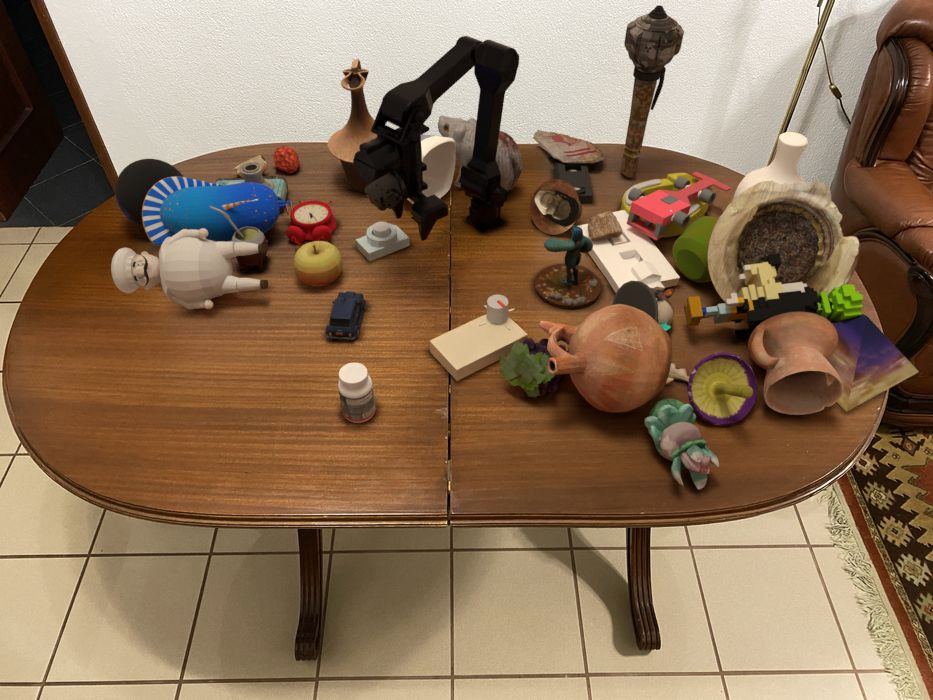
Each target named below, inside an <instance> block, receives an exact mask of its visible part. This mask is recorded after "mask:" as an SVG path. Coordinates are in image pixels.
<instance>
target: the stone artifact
mask: <svg viewBox="0 0 933 700" xmlns="http://www.w3.org/2000/svg"><path fill="white" fill-rule="evenodd" d="M532 139H533V140H534V141H535V142H536V143H537V144H538V146H539V148H541V149H543V150H544V151H546V153H548V154H549V155H550V156H551V157H552V158H553V159H555V160H558V161H559V162H560V163H562V164H563V163H576V164H595V163H599V162H601V161H605V160H606V157H605V155H604V153H603V151H601V150H600V149H599V148H598V147H597V146H596V145H595V144H594V143H593V142H591V141H588V140H585V139H581V138H577V137H574V136H570V135H568V134H564V133H557V132H555V131H554V132H553V131H545V130H541V129H537V130H536V131H535V132H534V134H533V137H532Z"/></svg>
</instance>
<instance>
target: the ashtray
mask: <svg viewBox="0 0 933 700" xmlns="http://www.w3.org/2000/svg"><path fill="white" fill-rule="evenodd" d="M679 176H681V177H683V178H685V179H687V180H690V185H692V184H694V183H697V182H699V181H700V179H698V178H696V177H694V176H692V175H691V174H689V173H687V172H673V173H668V174H667V176H666V178H661V179H659V178H654V179H650V180H646V181H642V182H639V183H636V184H633V185H632V186H631V187H629V188H628V189H627V190H626V191H625V192H624V194H623V195H622V200H621V205H620V209H619V211H621V210H625V211H626V213H627V214H628V215H629V212H630V209H631V205H632V202H633V201H631V200H629V199H628V195H629V192H630V191H631V190H632V189H633V188H637V189H639V190H641V191H643V192H644V193H645V196H647V195H649V194H651V193H653V192H655V191H658V190H669V191H679V190H678V189H676V188H674V183H675V180H676V179H677V178H678V177H679ZM709 190H710V191H712V192H714V189H713V188H712V187H710V188H709ZM690 205H691V207H690V210H689V213H688V215H690V221H689V223H688V224H687V225H686V226H685V227H684V228H682V227H680V226H679V225H677V224H675V223H673V222H671V223H669V224H668V227H667V230H666V234H665V235H663V236H662V237H661V238H671V237H676V236H681V235H682V234H683V233H684V231H685V230H686V229H687V227H688V226H689V225H690V224H691V223H692V222H694V221H695V220H697V219H698V218H700V217H702V216H705V214H706V212H707V211H708V209H709V207H710V205H708V204H706V203H705V202H703V201H701V200H699V199H697V200H695V201H692V202H690ZM640 220H642V221H644V222H645V219H643V218H642V217H640ZM651 226H653V227H655V228H656V225H655V224H652V225H651Z"/></svg>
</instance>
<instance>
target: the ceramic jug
mask: <svg viewBox="0 0 933 700" xmlns="http://www.w3.org/2000/svg"><path fill="white" fill-rule="evenodd" d="M837 345H838V333H837V331H836V329H835V327H834V326H833V324H832V323H831V322H830V321H829V320H827V319H826V318H824V317H822V316H820V315H817V314H814V313H810V312H788V313H783V314H779V315H776V316H773V317H771V318H769V319H767V320H765V321H763V322H762V323H760V324H759V325H758V326H757V327H756V328H755V329H754V331H753V332H752V333H751V335H750V338H749V340H747V351H748V354H749V356H750V358H751V359H752V361H753V362H754V363H755V364H756V365H757V366H759V367H760V368H761V369H763V370H765V371H766V373H765V376H764V380H763V381H764V382H763V399H764V402H765V403H766V405H767V407H769V408H770V410H771V409H772V410H773V411H775V412H778V413H780V414H785V415H794V416H800V415H810V414H814V413H815V414H816V413H818V412H821V411H824V410H825V408H826V407H828V408H829V407H832V406H833V405H835V404H836V403H837V401H838V400H839V399H840V398H841V396H842V394H843V383H842V381H841V379H840V377H839V375H838V373H837V372H836V370H835V369H834V368H833V367H832V365H831V364H830V363H829V362H828V359H829V358H830V357H831V356H832V355H833V353H834V352H835V350H836V348H837ZM828 374H830V375H832V376H834V377H835V380H834V382H833V383H832V384H830V385H828V380H829V378H828Z"/></svg>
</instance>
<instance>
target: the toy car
mask: <svg viewBox="0 0 933 700" xmlns="http://www.w3.org/2000/svg"><path fill="white" fill-rule="evenodd" d="M332 304H333V305H332V308H331V312H330V314H329V315H330V316H329V322H328V324H326V327H325V336H326V338H327V339H328V340H332V339H338V340H339V341H342V340H343V339H344V340H349V341H354V340H355V339H356V338H358V337H359V336H360V335H359V333H360V328H361V325H362V321H363V316H364V313H365V310H366V307H367V300H366V299H365V296H364V294H363V293H362V292H358V293H357V292H356V291H353V290H352V291H348V290H347V291H345V292H343V291H339V292H338V294H337V297H336V298H335V299H334V301H332Z"/></svg>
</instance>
